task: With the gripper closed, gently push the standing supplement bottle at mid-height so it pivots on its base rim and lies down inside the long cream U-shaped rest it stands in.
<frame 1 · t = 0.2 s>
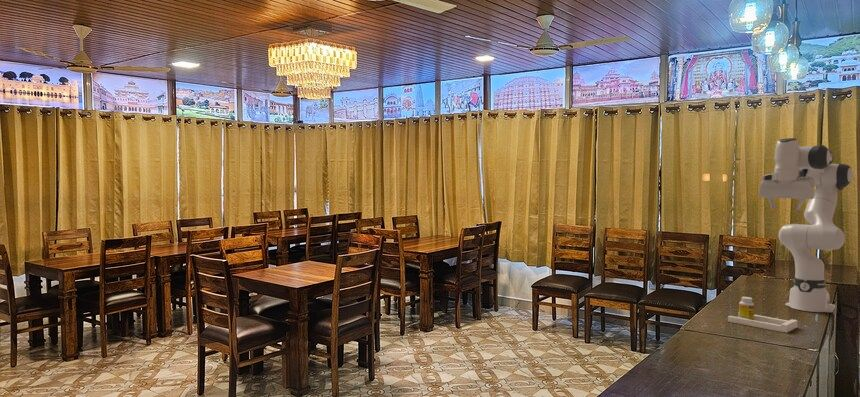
hand: (785, 209, 238), 48 cm above the table, tool pointing down, fingers open, 8 cm apart
u rest: (759, 323, 233), on the table
supplement bottle: (746, 322, 237), on the table
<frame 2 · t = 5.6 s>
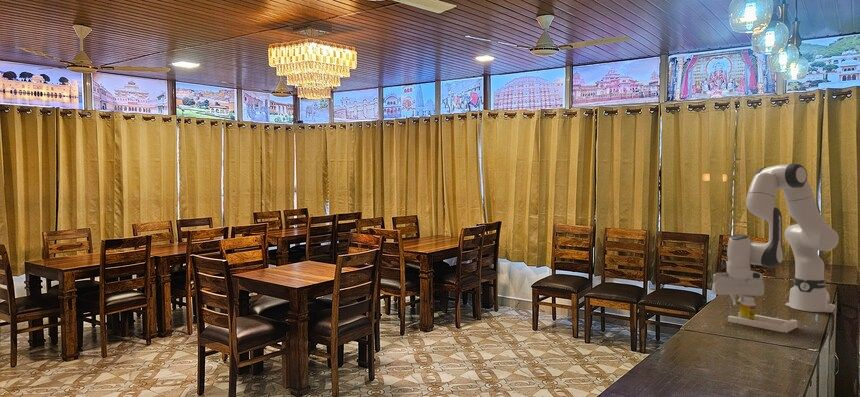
hand: (737, 305, 240), 6 cm above the table, tool pointing down, fingers closed
supplement bottle: (746, 321, 237), on the table, touching gripper
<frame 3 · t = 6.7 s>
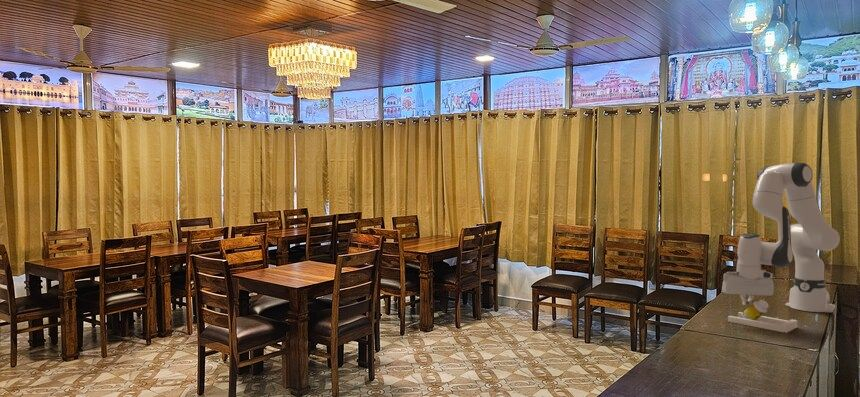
hand: (746, 305, 236), 7 cm above the table, tool pointing down, fingers closed
supplement bottle: (747, 318, 237), point 2 cm above the table, touching gripper
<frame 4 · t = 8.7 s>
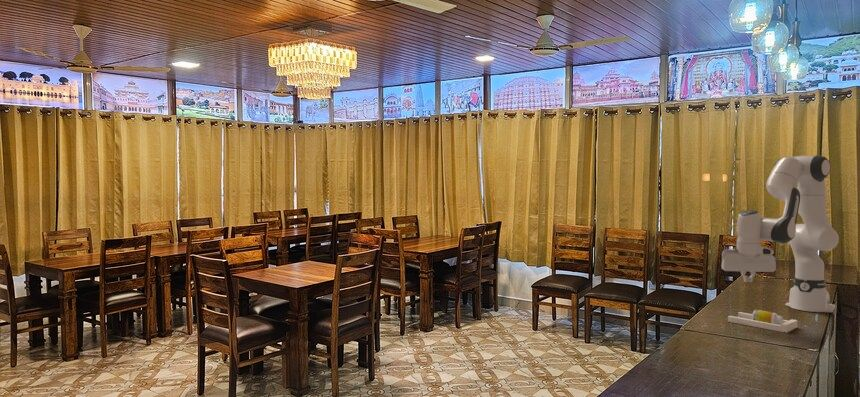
hand: (748, 281, 236), 17 cm above the table, tool pointing down, fingers closed
supplement bottle: (754, 315, 236), point 3 cm above the table
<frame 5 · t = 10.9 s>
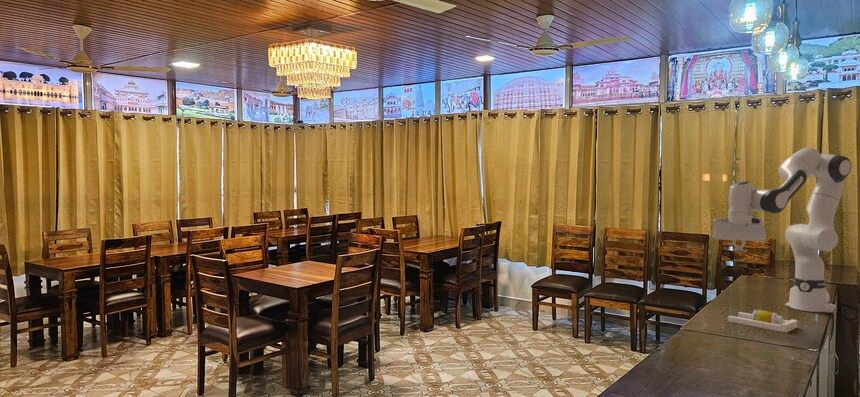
hand: (738, 250, 244), 29 cm above the table, tool pointing down, fingers closed
nothing on the table moved.
at the end: supplement bottle tilted 90°; supplement bottle inside the target area on the u rest (1.2 cm from its centre), point 2.7 cm above the u rest's base; the gripper is holding nothing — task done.
